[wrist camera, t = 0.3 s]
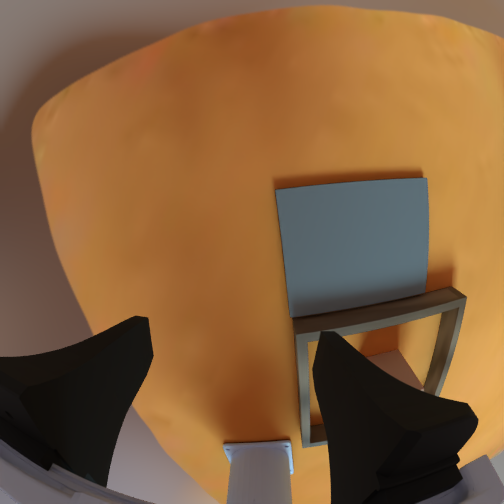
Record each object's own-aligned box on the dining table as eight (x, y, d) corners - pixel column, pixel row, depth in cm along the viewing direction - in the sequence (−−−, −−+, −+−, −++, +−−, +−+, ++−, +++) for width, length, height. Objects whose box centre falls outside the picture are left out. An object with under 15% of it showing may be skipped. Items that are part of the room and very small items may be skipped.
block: (391, 381, 23) (412, 420, 17) (353, 391, 24) (368, 434, 18) (398, 349, 22) (424, 388, 16) (356, 359, 22) (376, 403, 17)
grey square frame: (423, 400, 24) (431, 413, 22) (300, 431, 25) (302, 448, 23) (452, 286, 20) (466, 296, 18) (292, 317, 21) (295, 334, 19)
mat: (421, 289, 20) (425, 292, 20) (289, 313, 21) (290, 317, 21) (423, 177, 18) (427, 177, 17) (274, 189, 19) (275, 190, 18)
